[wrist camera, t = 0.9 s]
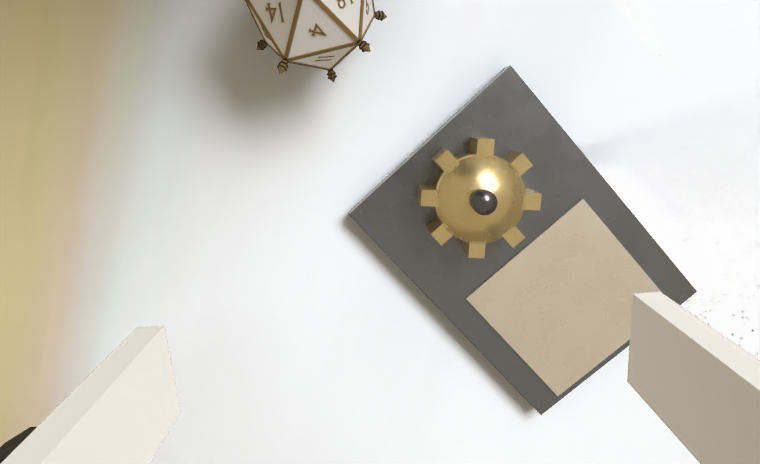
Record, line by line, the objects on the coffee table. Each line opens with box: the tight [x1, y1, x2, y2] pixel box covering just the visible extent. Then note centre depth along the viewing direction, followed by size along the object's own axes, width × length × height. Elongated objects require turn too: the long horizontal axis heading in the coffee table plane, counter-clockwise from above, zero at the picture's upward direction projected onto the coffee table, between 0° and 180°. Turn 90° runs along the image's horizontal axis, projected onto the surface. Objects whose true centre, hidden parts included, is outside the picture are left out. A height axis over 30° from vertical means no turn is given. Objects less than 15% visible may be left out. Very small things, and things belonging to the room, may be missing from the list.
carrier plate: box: [349, 66, 697, 415], centre depth 37 cm, size 22×15×5 cm
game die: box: [245, 0, 387, 82], centre depth 31 cm, size 9×8×10 cm
